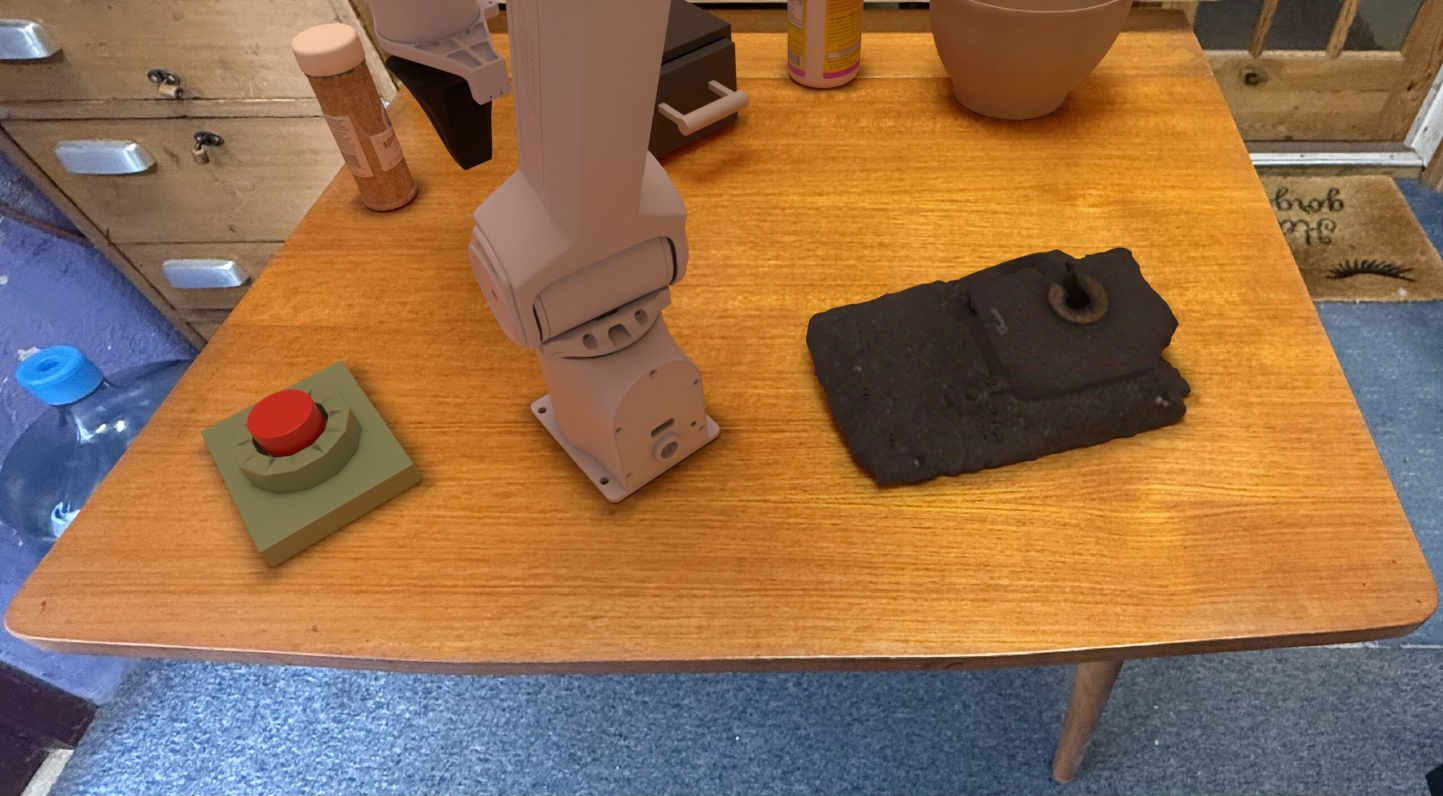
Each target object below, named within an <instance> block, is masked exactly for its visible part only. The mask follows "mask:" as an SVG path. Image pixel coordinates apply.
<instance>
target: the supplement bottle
mask: <svg viewBox="0 0 1443 796" xmlns="http://www.w3.org/2000/svg"><path fill="white" fill-rule="evenodd" d="M864 4H865V0H787V17H786V18H787V19H786V20H787V22H786V23H787V24H786V25H787V29H786V31H787V39H786V40H787V49H786V50H787V70H788V73H789V76H790V77H791V78H792V79H793V80H794V81H795V82H797V83H799V84H800V85H803V86H807V87H811V88H816V89H817V88H819V89H829V88H835V87H839V86H843V85H846V84H848V83H849V82H850V81H851V80H853V79H854V78H855V77H856V76H857V75H858V73H859V70H860V65H861V64H860V63H861V50H862V35H863V21H864Z"/></svg>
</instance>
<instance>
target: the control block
mask: <svg viewBox="0 0 1443 796" xmlns="http://www.w3.org/2000/svg"><path fill="white" fill-rule="evenodd" d="M289 389H295V390H301V391H303V392H305V393H307V394H308V395H310V397H311V398H312V400H313V401H314V403H315V404H316V406H317V407H318V409H319V410H320V412H321V413H322V415H323V417H324V419H325V428H324V431H323V433H322V434H321V436H320V437H319V438H318V439H317V440H316V441H315V442H314V444H313V445H311V446H309V447H307V448H305V449H303V450H301V451H300V452H298V453H296V454H294V455H291V456H284V457H278V456H273V455H270V454H268V453H266V452H265V451H264V450H263V449H262V447H261V446H260V445H259V444H258V442H257V441H256V440H255V438H254V437H253V436H252V434H251V433H250V432H249V430H248V428H247V418H248V415H249V413H250V411H251V410H252V409H253V407H254V406H255V405H256V404H257V403H258V402H256V403H254V404H252V405H249V406H247V407H246V408H244V409H242V410H239V411H238V412H236V413H234V414H231V415H230V416H228V417H226V418H224V419H222V420H220V421H219V422H215V423H214V424H212V425H210V426H208V427H207V428H204V429H202V430H201V431H200V435H201V437H202V439H203V441H204V443H205V445H206V447H207V449H208V451H209V453H210V455H211V458H212V460H213V461H214V463H215V465H216V467H217V469H218V472H219V473H220V476H221V478H222V480H223V482H224V484H225V486H226V488H227V491H228V492H229V494H230V496H231V499H232V500H233V503H234V504H235V506H236V508H237V511H238V513H239V516H240V517H241V519H242V521H243V522H244V525H245V527H246V529H247V532H248V533H249V536H250V538H251V540H252V541H253V544H254V546H255V548H256V550H257V552H258V553H259V554H260V556H261V557H262V558H263V559H264V560H265V561H266V562H267V564H269V566H270V567H272V568H276V567H278V566H279V565H281V564H282V563H284V562H286V561H287V560H289V559H291V558H293V557H294V556H296V555H298V554H300V553H301V552H303V551H304V550H306V549H308V548H310V547H311V546H313V545H315V544H316V543H318V542H320V541H322V540H323V539H325V538H327V537H328V536H330V535H332V534H334V533H335V532H338V531H339V530H340V529H342V528H344V527H346V526H347V525H349V524H351V523H353V522H354V521H356V520H357V519H359V518H361V517H362V516H364V515H366V514H368V513H369V512H371V511H373V510H375V509H376V508H379V506H382V505H383V504H385V503H386V502H388V501H389V500H391V499H393V498H395V497H396V496H398V495H400V494H402V493H404V492H405V491H407V490H409V489H410V488H412V487H414V486H415V485H418V483H421V482H422V481H423V477H422V475H421V474H420V472H419V470H418V469H417V467H416V465H415V463H414V462H413V460H412V458H411V457H410V456H409V454H408V453H407V451H406V450H405V449H404V447H403V446H402V444H401V442H400V441H399V440H398V439H397V437H396V436H395V435H394V433H393V431H392V430H391V428H390V427H389V426H388V424H387V423H386V421H385V420H384V419H383V417H382V416H381V414H380V413H379V411H378V410H377V409H376V407H375V406H374V405H373V404H374V403H372V401H371V400H370V398H369V397H368V396H367V394H366V393H365V391H364V390H363V388H362V387H361V385H360V384H359V382H358V381H357V380H356V378H355V376H353V374H352V373H351V371H350V370H349V368H348V367H347V365H346V364H345V362H344V361H343V360H338V361H337V362H335V363H333V364H331V365H329V366H327V367H325V368H323V369H321V370H318V371H316V372H315V373H313V374H311V375H309V376H307V377H305V378H303V379H301V380H299V381H297V382H295V383H293V384H292V385H289V386H288V387H285V388H284V389H281V390H280V391H282V390H289Z"/></svg>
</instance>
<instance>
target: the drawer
mask: <svg viewBox="0 0 1443 796" xmlns="http://www.w3.org/2000/svg"><path fill="white" fill-rule="evenodd" d="M736 57H737V56H736V43H735V41H733V40H732V41H731V40H729V39H727V38H724V39H722V40H720V41H717V42H715V43H713V44H710V45H709V43H708V44H705V45H703V46H701V47H698V48H696V49H694V50H691V51H689V52H687V53H684V54H682V55H680V56H677V57H675V58H673V59H670V60H668V61H666V62H663V63H661V68H660V74H659V81H658V87H657V93H656V100H655V106H654V113H653V119H652V125H651V132H650V138H649V145H648V151H649V152H650V153H651V154H652V155H653V156H654V157H655V158H656V160H657V159H660V158H661V156H662V157H664V156H666V155H668V154H670V153H672V152H674V151H677V150H678V149H680V148H682V147H685V146H686V145H688V143H689V144H691V143H692V141H693V142H695V141H697V140H699V139H701V138H703V137H705V136H707V135H708V134H711V133H713V132H716V131H717V129H718V130H720V129H721V127H722V128H723V126H724V127H726V126H728V125H730V124H732V123H735V122H736V121H738V120H739V111H741V110H744V109H745V108H747V107H748V106H749V100H750V99H749V97H748V95H747V93H746V92H745V90H744V89H738V84H737V83H738V82H737V81H738V80H737V79H738V78H737V61H736V60H737V59H736ZM725 125H726V126H725ZM719 128H720V129H719ZM696 139H697V140H696ZM694 140H695V141H694ZM690 142H691V143H690ZM667 153H668V154H667ZM665 154H666V155H665ZM663 155H664V156H663ZM659 157H660V158H659Z"/></svg>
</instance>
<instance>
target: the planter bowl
mask: <svg viewBox="0 0 1443 796" xmlns="http://www.w3.org/2000/svg"><path fill="white" fill-rule="evenodd" d="M1134 1H1135V0H929V18H930V19H929V20H930V27H931V33H932V34H931V35H932V38H933V41H934V45H935V46H934V47H935V49H936V52H937V55H938V57H939V60H940V62H941V64H942V65H943V68H944V70H945V71H946V74H947V75H948V76H949V78H950V79H951V81H952V92H953V95H954V97H955V99H956V100H957V101H958V102H959V103H960V104H961V105H962V106H964V107H965V108H966V109H968V110H970V111H972V112H974V113H976V114H979V115H981V116H985V117H990V118H993V119H1000V120H1011V121H1012V120H1013V121H1014V120H1016V121H1019V120H1020V121H1021V120H1030V119H1036V118H1040V117H1043V116H1046V115H1049V114H1050V113H1052V112H1055V111H1056V110H1058V108H1060V107H1061V106H1062V104H1063V103H1064V102H1065V100H1066V97H1067V95H1068V94H1069V92H1071V91H1072V90H1073V89H1075V88H1076V87H1078V85H1080V83H1082V82H1083V81H1084V80H1085V79H1086V78H1087V77H1088V76H1089V75H1090V74H1091V73H1092V72H1093V71H1094V70H1095V69H1096V68H1097V66H1098V65H1099V64H1100V63H1101V62H1102V60H1103V59H1104V58H1105V57H1106V55H1107V54H1108V52H1109V51H1110V50H1111V48H1112V47H1113V45H1114V44H1115V42H1116V40H1117V39H1118V37H1119V35H1120V33H1121V32H1122V30H1123V27H1125V23H1126V21H1127V19H1128V17H1129V15H1130V11H1131V8H1132V6H1133V2H1134Z"/></svg>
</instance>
